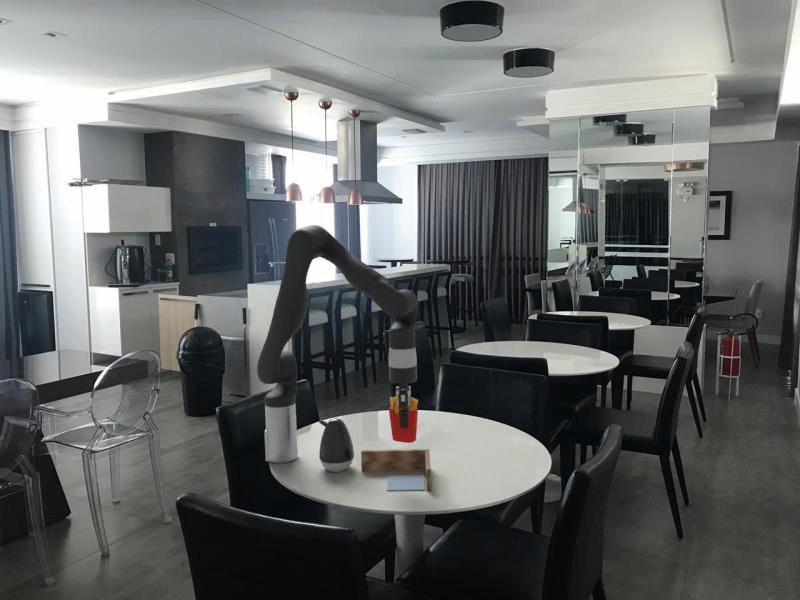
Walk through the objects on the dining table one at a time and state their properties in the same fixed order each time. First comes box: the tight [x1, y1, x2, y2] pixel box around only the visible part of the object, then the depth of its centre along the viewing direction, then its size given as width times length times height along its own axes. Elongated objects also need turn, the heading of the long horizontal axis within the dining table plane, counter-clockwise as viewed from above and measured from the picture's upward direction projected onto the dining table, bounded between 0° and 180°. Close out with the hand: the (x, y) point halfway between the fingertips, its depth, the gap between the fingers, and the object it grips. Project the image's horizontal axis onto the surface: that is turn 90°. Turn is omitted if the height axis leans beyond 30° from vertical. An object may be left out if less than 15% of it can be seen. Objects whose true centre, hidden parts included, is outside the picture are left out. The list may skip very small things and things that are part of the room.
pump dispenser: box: [318, 417, 355, 473], centre depth 193 cm, size 10×10×15 cm
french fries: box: [388, 395, 419, 444], centre depth 180 cm, size 8×4×12 cm, turn 62°
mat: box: [386, 474, 426, 492], centre depth 182 cm, size 10×10×1 cm
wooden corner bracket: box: [360, 448, 432, 492], centre depth 184 cm, size 20×16×6 cm
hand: (404, 425), depth 180 cm, fingers closed on french fries, 4 cm apart
